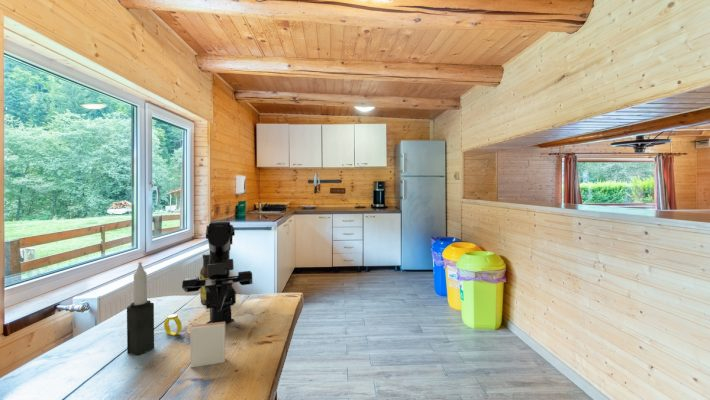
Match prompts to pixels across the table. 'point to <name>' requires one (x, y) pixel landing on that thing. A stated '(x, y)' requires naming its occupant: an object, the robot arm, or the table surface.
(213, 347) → the tile
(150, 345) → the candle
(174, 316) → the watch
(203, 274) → the sauce bottle
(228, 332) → the table surface
